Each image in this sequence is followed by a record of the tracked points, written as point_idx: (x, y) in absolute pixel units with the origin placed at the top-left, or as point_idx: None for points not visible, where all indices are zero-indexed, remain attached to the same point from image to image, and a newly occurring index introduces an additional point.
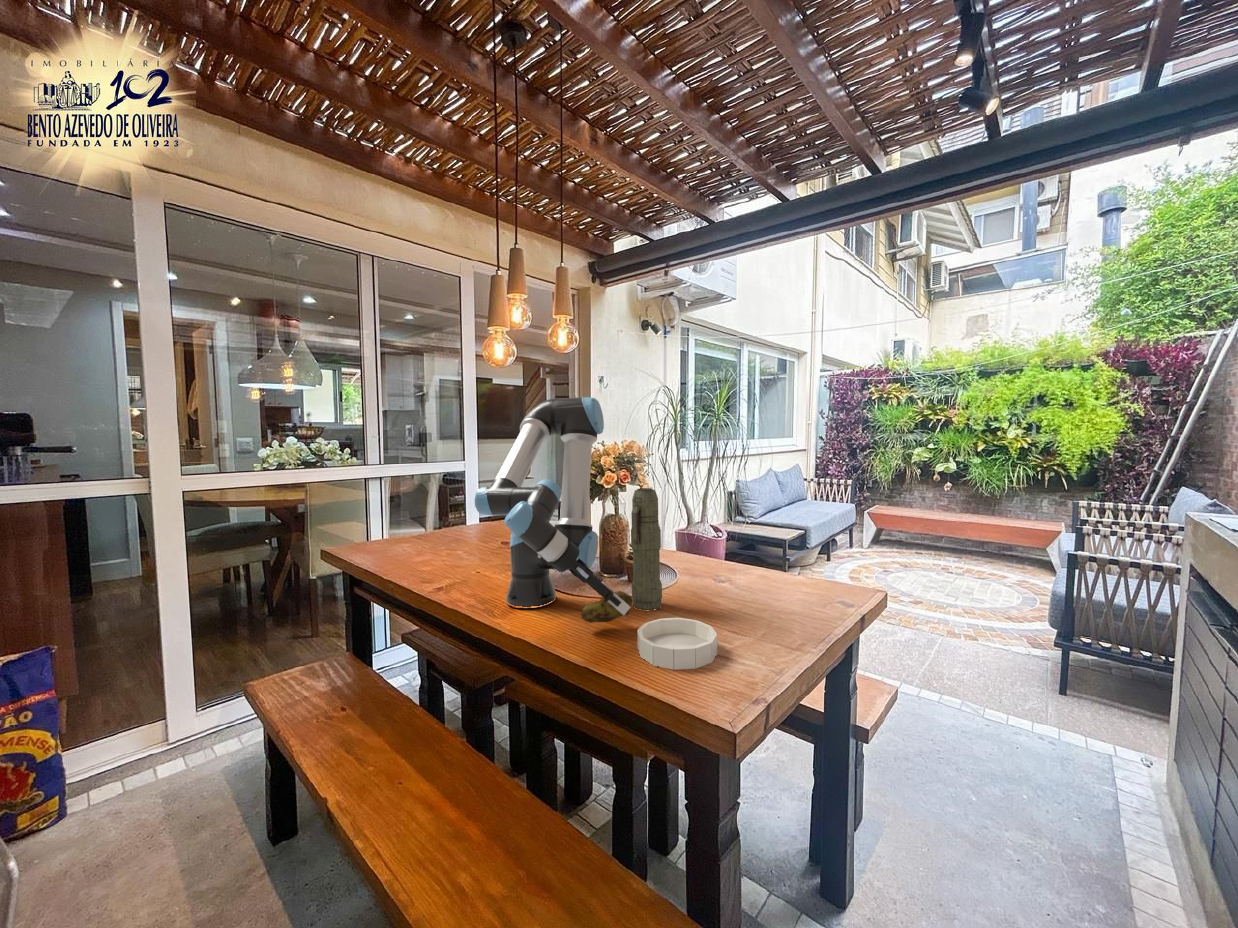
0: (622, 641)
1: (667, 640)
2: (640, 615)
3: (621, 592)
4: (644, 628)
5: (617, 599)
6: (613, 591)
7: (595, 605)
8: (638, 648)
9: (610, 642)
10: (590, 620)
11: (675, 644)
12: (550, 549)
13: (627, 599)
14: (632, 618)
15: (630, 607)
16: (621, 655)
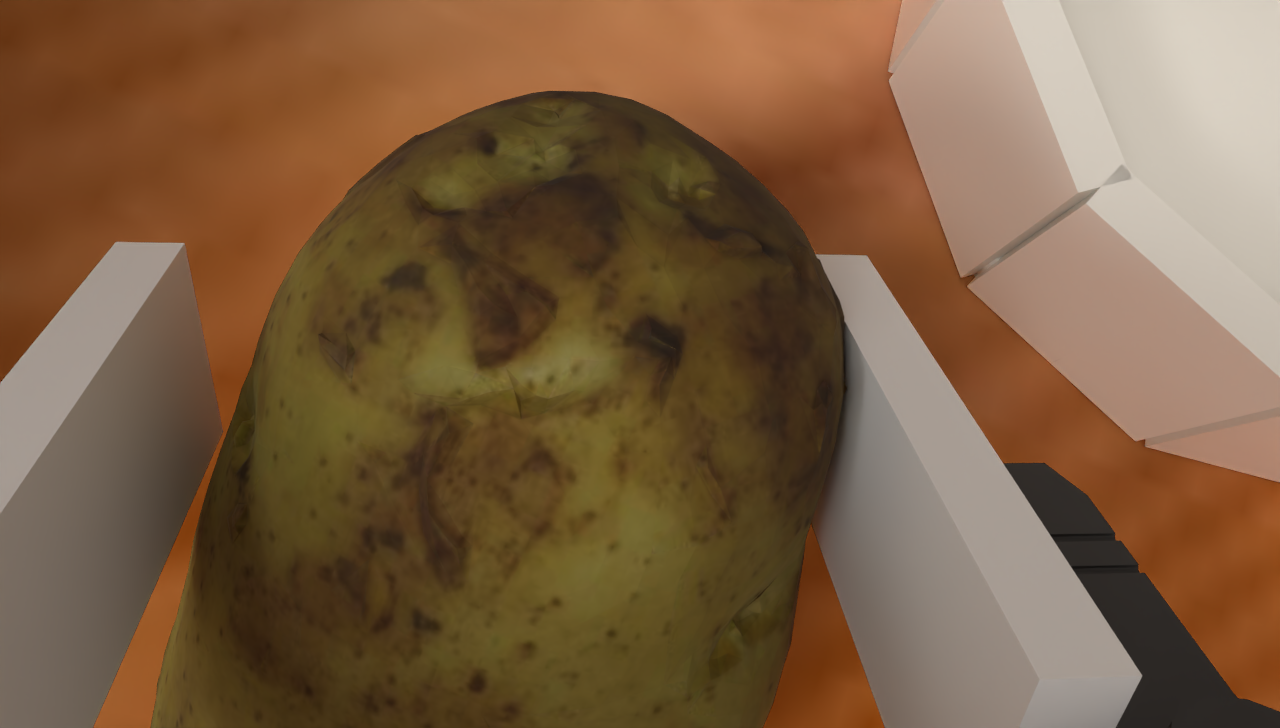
0: None
1: (1142, 82)
2: (158, 28)
3: (613, 274)
4: (1239, 280)
5: (1131, 570)
6: (104, 368)
7: None
8: (1259, 463)
9: None
10: None
11: (1260, 53)
12: None
13: (805, 239)
14: (212, 163)
15: (866, 264)
16: (1264, 688)
